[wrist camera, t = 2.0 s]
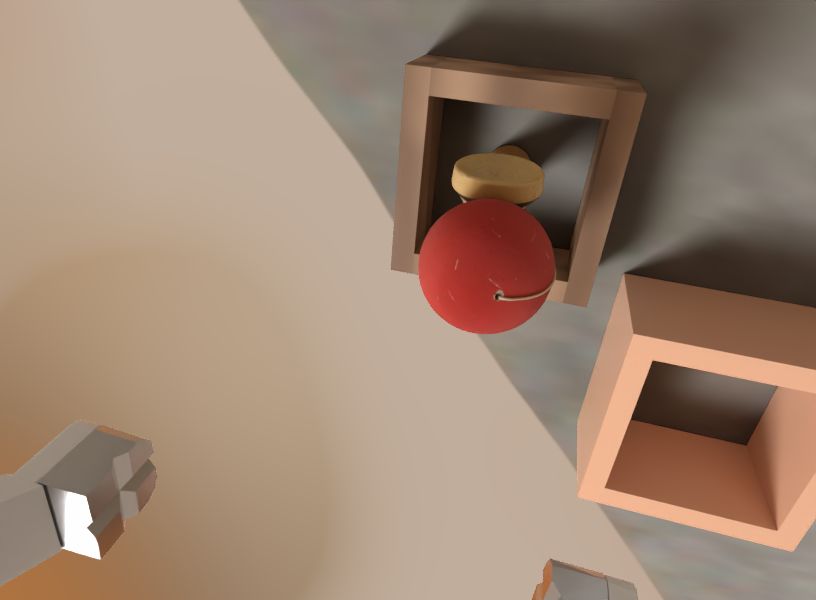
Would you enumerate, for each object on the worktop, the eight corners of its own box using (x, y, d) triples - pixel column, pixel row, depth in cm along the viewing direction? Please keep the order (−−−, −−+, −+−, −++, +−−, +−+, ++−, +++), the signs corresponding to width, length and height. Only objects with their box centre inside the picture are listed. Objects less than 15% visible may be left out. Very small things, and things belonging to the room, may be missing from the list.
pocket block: (638, 79, 33) (647, 93, 29) (585, 272, 40) (586, 307, 36) (425, 54, 35) (405, 64, 31) (409, 240, 42) (390, 269, 38)
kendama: (528, 239, 40) (498, 397, 25) (447, 201, 40) (368, 335, 25) (585, 139, 35) (592, 256, 20) (495, 96, 36) (435, 181, 20)
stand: (844, 313, 37) (905, 387, 30) (759, 464, 44) (792, 551, 37) (623, 273, 39) (633, 334, 32) (577, 422, 46) (577, 497, 39)
